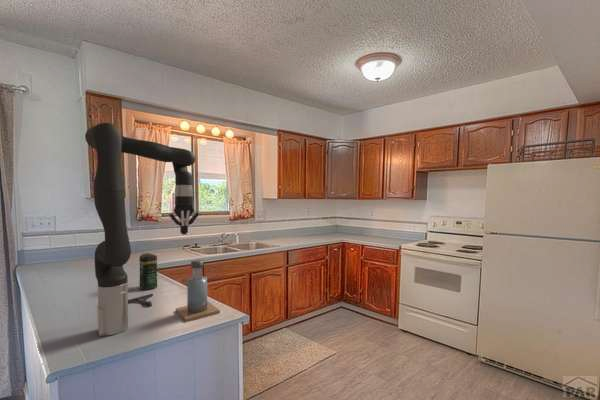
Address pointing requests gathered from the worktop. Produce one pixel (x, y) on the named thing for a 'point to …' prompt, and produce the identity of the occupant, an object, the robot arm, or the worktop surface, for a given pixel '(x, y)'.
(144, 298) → the bracket
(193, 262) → the grey dome cap
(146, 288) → the coffee jar
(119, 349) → the worktop surface
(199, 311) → the soap dispenser
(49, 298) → the worktop surface
